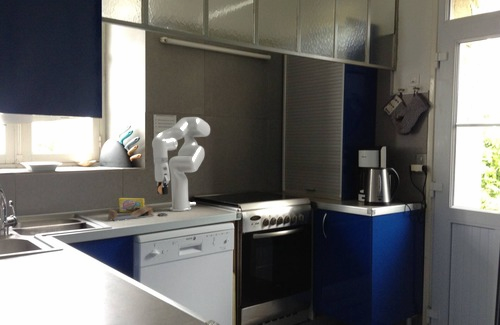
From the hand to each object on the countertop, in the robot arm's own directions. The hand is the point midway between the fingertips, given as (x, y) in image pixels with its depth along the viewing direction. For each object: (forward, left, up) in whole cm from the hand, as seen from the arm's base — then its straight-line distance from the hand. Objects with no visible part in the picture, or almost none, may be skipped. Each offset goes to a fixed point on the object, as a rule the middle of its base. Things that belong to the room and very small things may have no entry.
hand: (162, 193), depth 256 cm
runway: (+16, -5, -12) cm, 21 cm away
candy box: (+9, -23, -12) cm, 28 cm away
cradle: (+1, +1, -12) cm, 12 cm away
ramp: (+16, -5, -12) cm, 21 cm away
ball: (0, 0, +2) cm, 2 cm away
